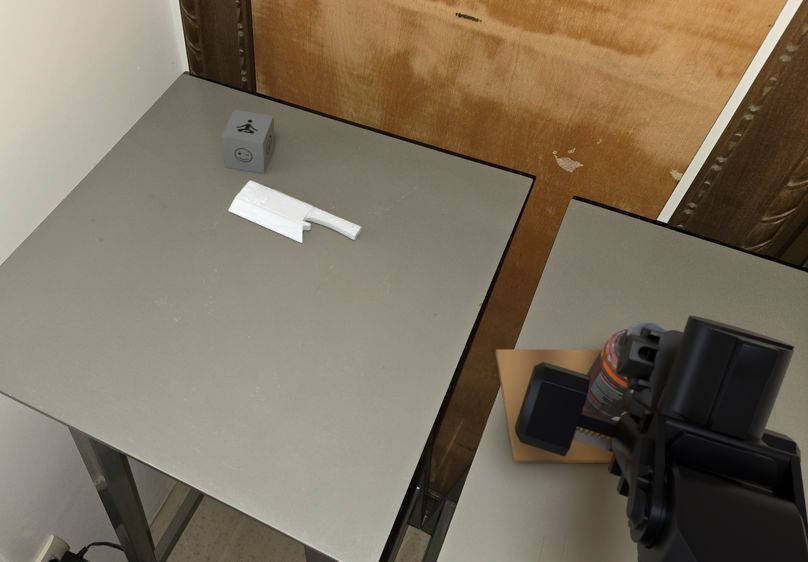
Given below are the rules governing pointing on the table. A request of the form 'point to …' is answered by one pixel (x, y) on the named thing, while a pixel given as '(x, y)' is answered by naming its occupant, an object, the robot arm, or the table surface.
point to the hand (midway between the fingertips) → (630, 410)
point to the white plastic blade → (285, 213)
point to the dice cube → (248, 141)
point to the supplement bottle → (611, 375)
